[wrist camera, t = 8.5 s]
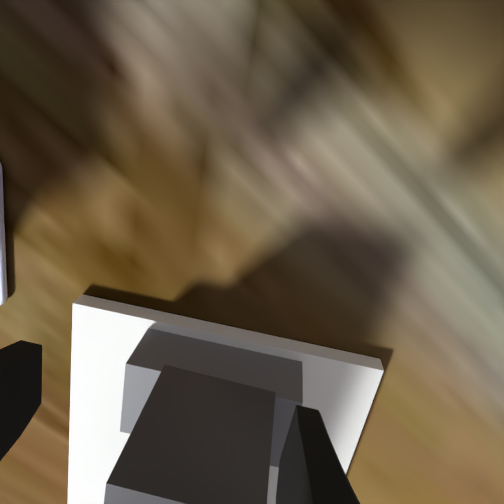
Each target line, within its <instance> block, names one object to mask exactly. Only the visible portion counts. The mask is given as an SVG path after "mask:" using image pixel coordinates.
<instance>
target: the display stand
mask: <svg viewBox="0 0 504 504" xmlns="http://www.w3.org/2000/svg"><path fill="white" fill-rule="evenodd" d="M164 365H169V366H173V367H177V368H181V369H185V370H189V371H193V372H197V373H201V374H205V375H209V376H213V377H217V378H221V379H225V380H229V381H233V382H237V383H241V384H245V385H249V386H253V387H257V388H261V389H265V390H269V391H273V392H276V393H275V406H274V419H273V431H272V444H271V457H270V469H269V482H268V494H267V504H276V491H277V480H278V471H279V461H280V457H281V453H282V450H283V447H284V444H285V440H286V437H287V434H288V430H289V427H290V424H291V420H292V417H293V414H294V411H295V407H296V405H300V406H304V407H308V408H312V409H317V410H319V412H320V413H321V416H322V419H323V421H324V424H325V427H326V429H327V432H328V435H329V437H330V440H331V442H332V445H333V447H334V449H335V452H336V454H337V456H338V459H339V461H340V463H341V465H342V468H343V470H344V472H345V474H346V472H347V470H348V467H349V464H350V461H351V459H352V456H353V453H354V451H355V448H356V445H357V442H358V440H359V437H360V434H361V431H362V429H363V426H364V423H365V421H366V418H367V415H368V412H369V410H370V407H371V404H372V402H373V399H374V396H375V393H376V391H377V388H378V385H379V382H380V380H381V377H382V374H383V372H384V370H383V366H382V363H381V360H380V359H379V358H374V357H370V356H365V355H360V354H356V353H351V352H346V351H342V350H337V349H333V348H328V347H323V346H319V345H314V344H310V343H305V342H300V341H296V340H291V339H286V338H282V337H277V336H273V335H268V334H263V333H259V332H254V331H250V330H245V329H240V328H236V327H231V326H226V325H222V324H217V323H213V322H208V321H203V320H199V319H194V318H190V317H185V316H180V315H176V314H171V313H166V312H162V311H157V310H153V309H148V308H143V307H139V306H134V305H129V304H125V303H120V302H116V301H111V300H106V299H102V298H97V297H93V296H88V295H83V294H82V295H81V296H80V297H79V298H78V299H77V300H75V301H74V302H73V311H72V351H71V391H70V430H69V470H68V504H104V497H105V488H106V482H107V480H108V478H109V476H110V474H111V472H112V470H113V468H114V466H115V464H116V462H117V460H118V458H119V456H120V454H121V452H122V450H123V448H124V446H125V444H126V442H127V440H128V438H129V436H130V434H131V432H132V430H133V428H134V426H135V424H136V422H137V420H138V417H139V415H140V413H141V411H142V409H143V407H144V405H145V403H146V401H147V399H148V397H149V395H150V393H151V391H152V389H153V387H154V385H155V383H156V381H157V379H158V377H159V375H160V373H161V371H162V369H163V367H164Z"/></svg>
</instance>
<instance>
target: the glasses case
mask: <svg viewBox="0 0 504 504" xmlns="http://www.w3.org/2000/svg"><path fill="white" fill-rule="evenodd" d="M275 393H276V392H273V391H269V390H265V389H261V388H257V387H253V386H249V385H245V384H241V383H237V382H233V381H229V380H225V379H221V378H217V377H213V376H209V375H205V374H201V373H197V372H193V371H189V370H185V369H181V368H177V367H173V366H169V365H164V367H163V369H162V371H161V373H160V375H159V377H158V379H157V381H156V383H155V385H154V387H153V389H152V391H151V393H150V395H149V397H148V399H147V401H146V403H145V405H144V407H143V409H142V411H141V413H140V415H139V417H138V420H137V422H136V424H135V426H134V428H133V430H132V432H131V434H130V436H129V438H128V440H127V442H126V444H125V446H124V448H123V450H122V452H121V454H120V456H119V458H118V460H117V462H116V464H115V466H114V468H113V470H112V472H111V474H110V476H109V478H108V480H107V482H106V488H105V497H104V504H267V494H268V482H269V469H270V457H271V444H272V431H273V419H274V406H275Z"/></svg>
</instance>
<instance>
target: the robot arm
mask: <svg viewBox="0 0 504 504" xmlns="http://www.w3.org/2000/svg"><path fill="white" fill-rule="evenodd" d="M6 300H7V275H6V251H5V226H4V202H3V177H2V166H1V163H0V305H2V304H3V303H5V302H6ZM41 393H42V345H39V344H35V343H31V342H26V341H22V340H20V341H18V342H16V343H13V344H11V345H9V346H7V347H4V348H2V349H0V461H1V459H2V458H3V457H4V456H5V454H6V453H7V452H8V451H9V449H10V448H11V447H12V446H13V445H14V443H15V442H16V441H17V439H18V438H19V437H20V436H21V434H22V433H23V431H24V429H25V428H26V426H27V425H28V423H29V422H30V420H31V419H32V417H33V415H34V414H35V412H36V411H37V409H38V407H39V406H40V404H41ZM276 504H360V503H359V501H358V499H357V497H356V495H355V493H354V491H353V489H352V487H351V485H350V483H349V480H348V478H347V476H346V474H345V472H344V470H343V468H342V465H341V463H340V461H339V459H338V456H337V454H336V452H335V449H334V447H333V445H332V442H331V440H330V437H329V435H328V432H327V429H326V427H325V424H324V421H323V419H322V416H321V413H320V412H319V410H317V409H312V408H308V407H304V406H300V405H296V407H295V411H294V414H293V417H292V420H291V424H290V427H289V430H288V434H287V437H286V440H285V444H284V447H283V450H282V453H281V457H280V461H279V471H278V480H277V491H276Z"/></svg>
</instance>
